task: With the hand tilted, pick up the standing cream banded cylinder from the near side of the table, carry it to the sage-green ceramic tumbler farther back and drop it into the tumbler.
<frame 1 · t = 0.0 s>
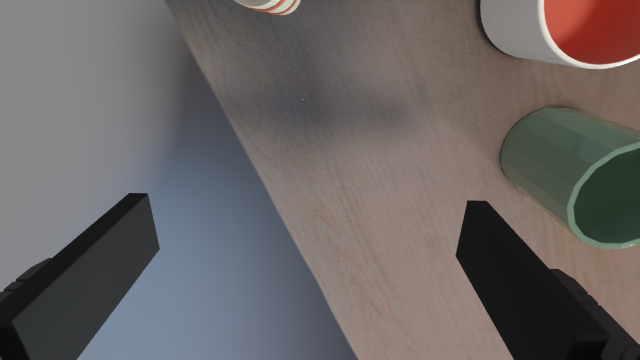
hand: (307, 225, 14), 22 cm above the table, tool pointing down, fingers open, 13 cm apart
tumbler: (544, 149, 35), on the table
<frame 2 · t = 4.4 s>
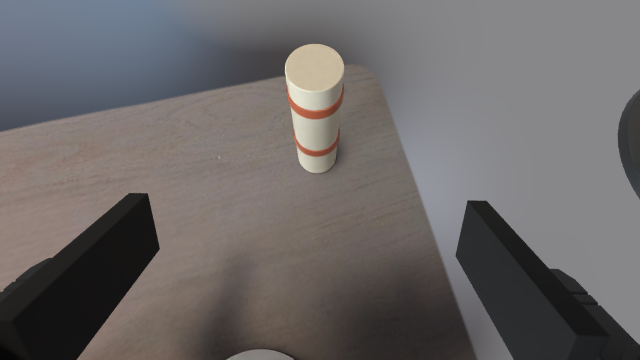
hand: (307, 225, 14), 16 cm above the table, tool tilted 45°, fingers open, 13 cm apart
cream banded cylinder: (317, 156, 33), on the table
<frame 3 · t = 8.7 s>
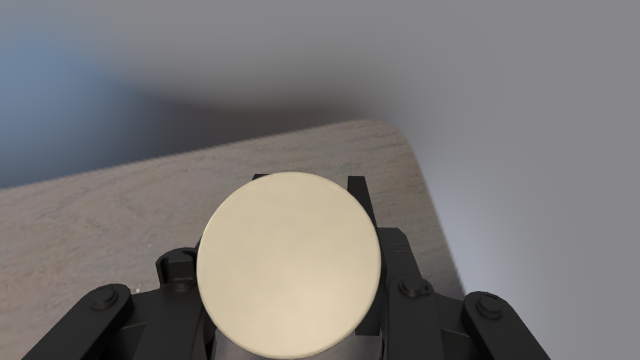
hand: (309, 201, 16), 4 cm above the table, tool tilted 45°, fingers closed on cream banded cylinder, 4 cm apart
cream banded cylinder: (309, 290, 19), on the table, touching gripper
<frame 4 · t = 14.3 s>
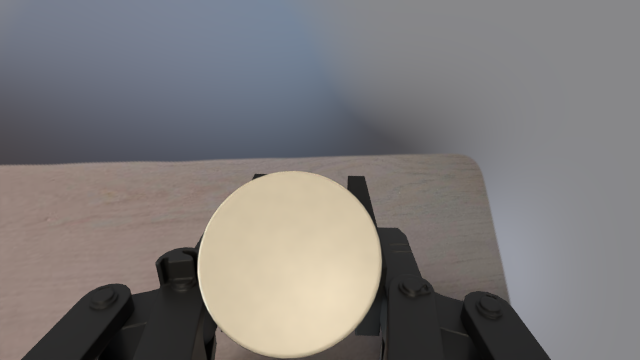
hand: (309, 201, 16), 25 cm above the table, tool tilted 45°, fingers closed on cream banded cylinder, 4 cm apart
cream banded cylinder: (309, 289, 19), point 21 cm above the table, touching gripper
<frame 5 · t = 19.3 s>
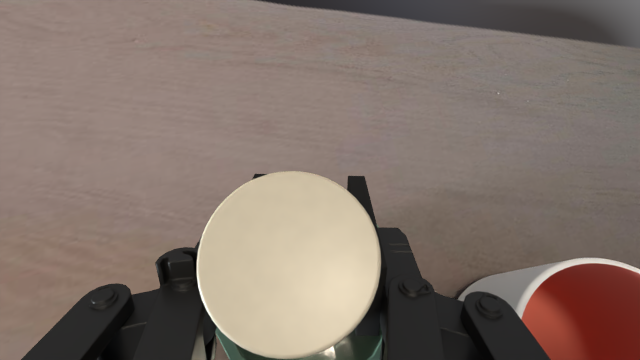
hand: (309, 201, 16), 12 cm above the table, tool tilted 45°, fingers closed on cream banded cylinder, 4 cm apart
cup: (508, 345, 25), on the table
cream banded cylinder: (309, 289, 19), point 8 cm above the table, touching gripper
tumbler: (312, 295, 26), on the table
when the fingers open (12 cm above the table, at t = 20.0 s): cream banded cylinder drops 7 cm, resting on tumbler.
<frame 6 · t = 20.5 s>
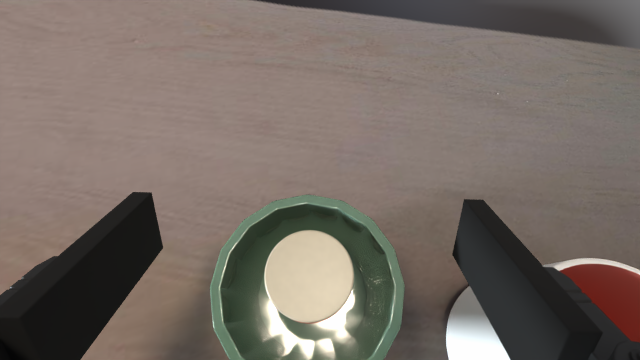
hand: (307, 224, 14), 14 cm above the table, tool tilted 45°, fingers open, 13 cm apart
cup: (507, 345, 25), on the table
cream banded cylinder: (311, 291, 26), point 1 cm above the table, touching tumbler
tumbler: (312, 295, 26), on the table
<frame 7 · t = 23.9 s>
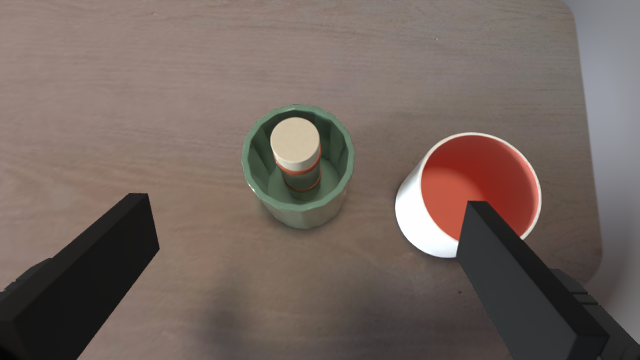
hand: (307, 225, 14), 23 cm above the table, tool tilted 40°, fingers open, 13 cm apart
cup: (438, 211, 37), on the table
cream banded cylinder: (304, 184, 37), point 1 cm above the table, touching tumbler
tumbler: (304, 188, 38), on the table
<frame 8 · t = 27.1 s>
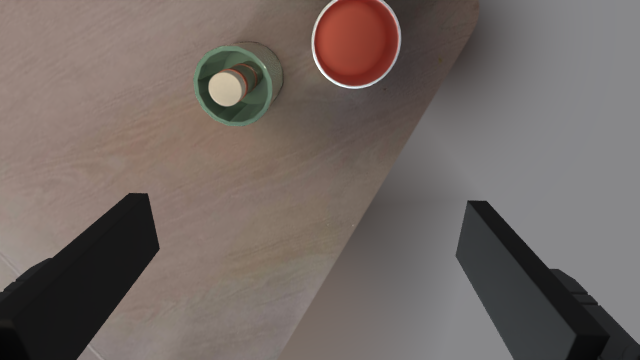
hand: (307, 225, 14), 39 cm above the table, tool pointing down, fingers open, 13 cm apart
cup: (350, 39, 47), on the table
cream banded cylinder: (249, 74, 49), point 1 cm above the table, touching tumbler
tumbler: (252, 75, 49), on the table
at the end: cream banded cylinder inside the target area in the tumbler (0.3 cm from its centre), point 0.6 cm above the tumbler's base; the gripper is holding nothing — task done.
